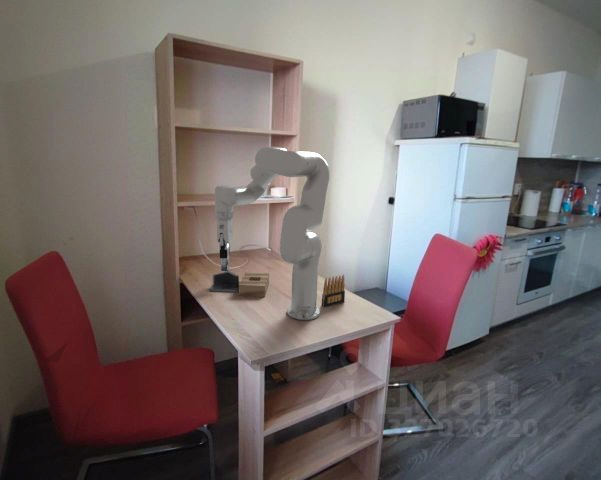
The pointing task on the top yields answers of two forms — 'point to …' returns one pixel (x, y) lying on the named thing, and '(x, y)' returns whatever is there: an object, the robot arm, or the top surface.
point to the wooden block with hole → (254, 284)
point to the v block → (225, 282)
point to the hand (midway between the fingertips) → (224, 256)
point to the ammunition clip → (333, 291)
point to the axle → (225, 261)
